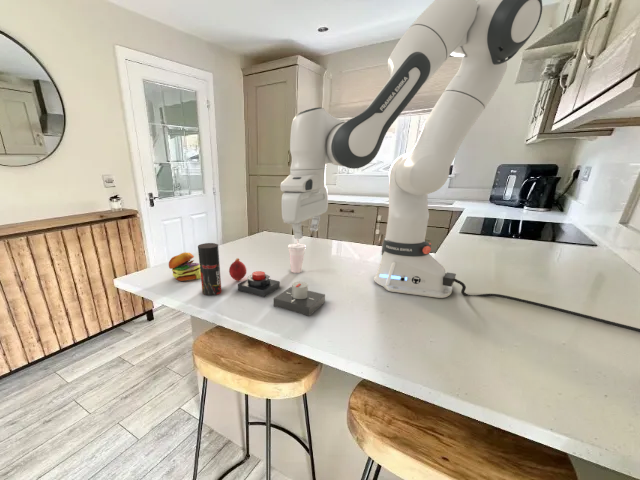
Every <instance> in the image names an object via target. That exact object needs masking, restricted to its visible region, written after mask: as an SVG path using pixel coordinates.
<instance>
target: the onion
mask: <svg viewBox="0 0 640 480" xmlns="http://www.w3.org/2000/svg"><path fill="white" fill-rule="evenodd" d="M228 272H229V276H230V277H231V278H232V279H233V280H235V281H236V282H241V280H242V279H244V278H245V276H246V274H247V267H246V265H245V264H244V263H243V262H242V261H241V260H240V258H239V257H237V258H236V259H235V261H233V262H232V263H231V264H230V266H229V269H228Z"/></svg>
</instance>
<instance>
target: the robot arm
mask: <svg viewBox="0 0 640 480" xmlns="http://www.w3.org/2000/svg"><path fill="white" fill-rule="evenodd" d="M542 13H543V0H434V1H432V2H431V3H430V4H429V5H428V6H427V7H426V8H425V9H424V10H423V12H421V14H420V15H419V16H418V17H417V18H416V19H415V20H414V22H413V23H412V24H411V25H410V26H409V28H408V29H406V31H405V32H404V34H403V35H402V36H401V38H400V39H399V40H398V42H397V43H396V45H395V46H394V48H393V50H392V51H391V53H390V55H389V57H388V59H387V73H388V75H389V78H388V80H387V81H386V83H385V84H384V86H383V87H382V88H381V89H380V90H379V92H378V93H377V95H375V97H374V98H373V100H372V101H371V102H370V103H369V105H368V106H367V107H366V109H365V110H363V111H362V112H361V113H360V114H358V115H356V116H354V117H352V118H350V119H349V120H347V121H344V120H341V119H340V118H337V117H335V116H333V115H332V114H330V112H328V111H327V110H326V109H325V108H324V107H319V106H318V107H311V108H309V109H308V108H307V109H305V110H303V111H300V112H299V113H297V114H296V115H295V116H294V117H293V119H292V122H291V127H290V139H289V152H290V156H291V164H290V170H289V172H290V173H289V175H288V176H287V177H286V178H284V180H283V181H281V182H280V186H279V187H280V191H281V192H283V193H282V195H281V218H282V221H283V223H284V224H288V225H291V228H292V231H293V233H294V234H293V238H294V239H295V240H297V239H299V240H301V239H303V238H304V235H303V234H304V231H302V227H301V226H302V222H304V221H307V220H310V219H312V220H311V224H310V226H309V228H310V229H309V230H310V232H313V233H314V232H315V233H316V232H317V231H319V223H320V221H321V217H322V215H323V214H325V213H327V211H328V209H329V193H328V187H327V186H326V170H327V169H326V168H327V167H326V166H327V164H331V165H334V166H339V167H344V168H348V169H351V170H352V169H361V168H363V167H365V166H367V165H369V164H370V163H372V161H373V160H374V159H375V158H376V157H377V155H378V153H379V152H380V149H381V147H382V145H383V142H384V140H385V137H386V135H387V133H388V131H389V129H390V128H391V126H392V125H393V124H394V122H395V121H396V120H397V119H398V118H399V116H400V115H401V113H403V111H404V110H405V109H406V108H407V106H408V104H410V103H411V101H412V100H413V98H414V97H415V96H416V95H417V93H418V92H419V91H420V89H421V88H422V87H423V86H424V85H425V84H427V82H428V81H429V80H430V79H431V78H432V77H433V76H434V75H435V74H436V73H437V71H438V70H440V68H442V67H443V65H444V64H445V62H446V61H447V60H448V59H449V58H452V57H459V58H461V62H460V66H459V68H458V70H457V72H456V73H455V75H454V76H453V77H452V78H451V80H450V81H449V83H448V85H447V86H446V87H445V89H444V91H443V92H442V94H441V95H440V97H439V98H438V100H437V101H436V103H435V104H434V106H433V107H432V109H431V111H430V112H429V114H428V115H427V117H426V119H425V120H424V122H423V125H422V129H421V131H420V133H419V136H418V138H417V140H416V142H415V144H414V147H413V148H412V149H411V151H410V152H406V153H403V154H402V155H400V156H399V157H397V158H396V159H395V160H394V161H393V163H392V164H391V165H390V168H389V171H388V177H389V182H388V183H389V184H388V216H387V223H386V231H385V237H384V238H383V241H382V245H381V258H380V263H379V265H378V269H377V272H376V274H375V275H374V278H373V281H374V282H375V283H376V284H378V285H379V286H381V287H383V288H384V289H385V290H386V291H388V292H393V293H401V294H407V295H414V296H422V297H430V298H436V299H444V298H448V297H449V296H450V295H451V294H452V292H453V284H454V283H457V284H458V285H460V286H461V287H462V288H461V291H460V292H461V295H463V297H481V298H483V297H485V298H486V297H494V298H502V299H507V300H512V301H517V302H519V303H524V304H528V305H532V306H537V307H540V308H545V309H548V310H553V311H555V312H561V313H564V314H568V315H572V316H575V317H579V318H583V319H587V320H591V321H594V322H599V323H602V324H606V325H610V326H613V327H617V328H622V329H625V330H630V331H633V332H637V333H640V328H639V327H634V326H631V325H627V324H623V323H619V322H615V321H611V320H608V319H603V318H599V317H596V316H593V315H588V314H584V313H580V312H576V311H572V310H568V309H564V308H560V307H557V306H552V305H548V304H546V303H545V304H544V303H541V302H537V301H531V300H528V299H523V298H519V297H515V296H510V295H505V294H501V293H481V294H468V293H466V289H467V286H466V284H465V283H464V282H463V281H461V280H459V279H457V278H456V276H457V274H456V273H454V272H448V271H447V272H446V269H445V266H444V265H442V264H441V263H440V262H439V261H438V260H437V259H436V258H435V257H434V256H432V255H431V254H430V253H431V250H432V243H431V242H427V241H426V240H425V239H426V234H427V229H428V225H429V218H430V211H429V203H428V202H429V201H428V195H429V194H432V193H435V192H437V191H438V190H440V189H441V188H442V187H444V185H445V184H446V183H447V181H448V179H449V176H450V168H451V166H452V164H453V162H454V160H455V158H456V155H457V153H458V151H459V149H460V147H461V145H462V143H463V141H464V140H465V138H466V137H467V135H468V134H469V132H470V131H471V129H472V128H473V126H475V124H476V122H477V121H478V119H479V118H480V116H481V115H482V113H483V112H484V111H485V109H486V107H487V106H488V105H489V104H490V102H491V100H492V98H493V96H494V95H495V93H496V91H497V89H498V88H499V86H500V84H501V82H502V80H503V78H504V76H505V74H506V72H507V68H508V61H510V60H511V59H512V58H513V57H514V56H515V55H516V54H517V53H518V52H519V51H520V49H521V48H523V47H524V46H525V44H526V43H527V42H528V41H529V39H530V38H531V37H532V36H533V34H534V32H535V31H536V29H537V27H538V25H539V23H540V20H541V18H542Z"/></svg>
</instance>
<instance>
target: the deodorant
mask: <svg viewBox="0 0 640 480" xmlns="http://www.w3.org/2000/svg"><path fill="white" fill-rule="evenodd" d="M197 253H198V262H199V265H200V273H201V277H200V282H201V283H200V284H201V292H202V295H203V296H207V297H215V296H218V295H221V294H222V279H221V266H220V251H219V244H218V243H214V242H205V243H201V244H200V243H199V244H198V245H197Z"/></svg>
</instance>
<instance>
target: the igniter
mask: <svg viewBox="0 0 640 480" xmlns="http://www.w3.org/2000/svg"><path fill="white" fill-rule="evenodd" d="M280 288H281V281H279V280H276V279H271V276H270V275H268V274H266V273H265V279H263V280H254V279H252V274H250V275H248V276H247V278H246V279H244V280H243V281H240V282H239V283H237V291H238V292H242V293H243V292H244V293H246V294H249V295H254V296H257V297H261V298H266V297H267V296H269V295H271V294H273V292H274V293H275V291H277V290H278V289H280Z"/></svg>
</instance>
